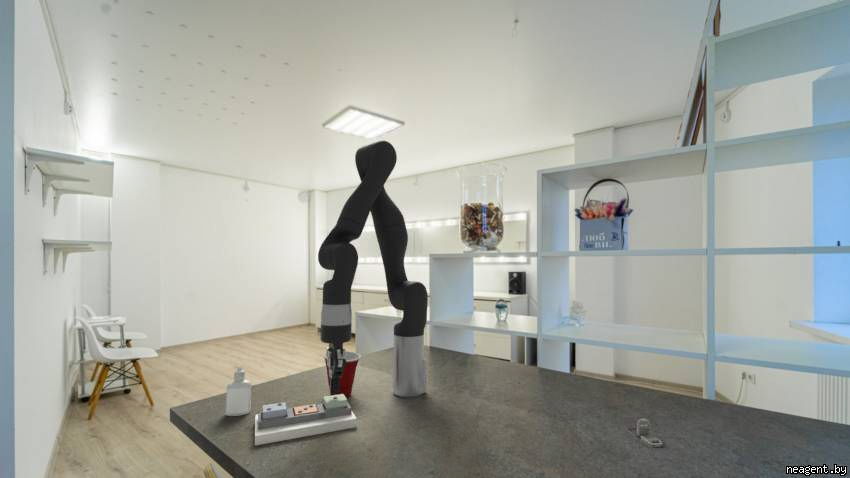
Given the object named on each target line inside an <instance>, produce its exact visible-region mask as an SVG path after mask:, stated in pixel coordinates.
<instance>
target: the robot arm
mask: <svg viewBox="0 0 850 478" xmlns="http://www.w3.org/2000/svg"><path fill="white" fill-rule="evenodd" d="M397 158H398V155H397V151H396V149H395V147H394V146H393V144H392V143H390V142H389V141H388V140H378V141H377V140H376V141H374V142H371V143H368V144H365V145H363V146H360V147H359V148H358V149H357V150H356V152H355V155H354V159H355V160H354V161H355V165H356V166H355V167H356V170H357V173H358V176H359V179H360V181H361V182H360V183H359V184H358V186H357V187H356V188H355V190H354V191H353V192H352V194H351V195H350V196H349V197H348V198H347V200H346V201H345V203H344V205H343V207H342V209H341V212H340V213H339V217H338V218H337V222H336V224H335V225H334V226H333V228H332V229H331V230H330V232H329V233H328V235H327V236H326V237H325V239H324V240H323V241H322V243H321V245H320V247H319V249H318V252H317V259H318V261H317V262H318V263H319V265H320V267H321V268H323V269H324V270H328V271H333V274H332V276H331V277H332V278H331V279H329V280H326V281H325V282H324V283H323V287H322V306H321V312H320V313H321V314H320V341H321V343H324V344H328V347H326V351H325V352H326V353H327V365H328V372H329V376H330V388H329V393H330V392H331V393H332V394H334V393H339V392H340V377H342V376H343V372H344V368H345V364H346V359H344V356H345V351H346V349H345V348H344V344H345V343H348V342H350V341H351V340H352V323H353V321H352V320H353V319H352V317H353V315H352V314H353V313H352V287H353V283H354V280H355V276H356V272H357V268H358V264H359V253H358V251H357V248H356V247H355V245H354V244H352V242H353V241H355V240H358V239H359V238H360V237H361V235H362V233H363V230H364V228H365V225H366V223H367V220H368V217H369V215H370V214H371V218H372V223H373V228H374V231H375V236H376V239H377V243H378V246H379V251H380V255H381V260H382V263H383V269H384V274H385V282H386V289H387V296H388V299H389V300H388V301H389V303H390V304H391V306H392V307H393V308H394V309H395V310H397V311H403V313H402V320H401V321H400V322H397V323H395V324H394V326H393V356H392V357H393V359H392V360H393V363H392V365H393V368H392V369H393V373H392V374H393V376H392V378H393V379H392V380H393V381H392V389H393V390H392V391H393V394H394V395H396V396H398V397H402V398H414V397H418V396H421V395H422V394H425V393H426V394H427V360H426V359H425V328H426V324H427V322H428V321H427V320H428V318H427V317H428V304H429V303H428V301H429V300H428V299H429V298H428V297H429V296H428V290H427V288H426V286H425V285H424V283H422V282H420V281H415V280H414V281H412V280H409V279H408V276H407V273H406V269H405V255H406V252H407V249H408V248H407V247H408V244H409V243H408V242H409V241H408V240H409V236H408V231H407V225H406V222H405V218H404V215H403V213H402V211H401V210H400V208H399V207H398V206H397V205H396V203H395V202H394V201H393V200H392V198H391V197H390V196H389V194H388V193H387V191H386V188H385V183H386V182H387V180H388V179H389V177H390V175H391V174H392V173H393V170H394V169H395V167H396V164H397V160H398V159H397Z"/></svg>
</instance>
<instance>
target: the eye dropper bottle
mask: <svg viewBox="0 0 850 478" xmlns="http://www.w3.org/2000/svg"><path fill="white" fill-rule="evenodd" d="M242 367H243V366H241V365H239V366H237V370H235V371H234V372H233V374H234V375H233V381H230V382H229V383H228V384H227V386H226V395H225V396H226V398H225V415H226V416H228V417H239V416H244V415H248V414H249V413H250V412H251V408H252V407H251V406H252V405H251V404H252V403H251V401H252V382H251V381H250V380H249V379H245V377H246V371H245V370H243V368H242Z"/></svg>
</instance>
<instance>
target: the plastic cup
mask: <svg viewBox="0 0 850 478" xmlns="http://www.w3.org/2000/svg"><path fill="white" fill-rule="evenodd" d="M361 357H362V356H361V354H360V353H357V352H354V351H350V350H349V351H348V350H345V356H344V359H346V364H345V368H344V372H343V376H342V377H340V392H339V393H334V394H332V393H331V392H330V391H329V396H332V395H339V394H344V396H345V397H346V399H347V398H349V397H352V396H351V395H352V390H353V385H354V383H355V382H354V381H355V375H356V371H357V367H358V364H359V360H360V359H361ZM323 358H324V361H325V362H324V363H325V367H326V374H327V382H328V387H329V389H330V376H329V372H328V365H327V353H324V354H323Z"/></svg>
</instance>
